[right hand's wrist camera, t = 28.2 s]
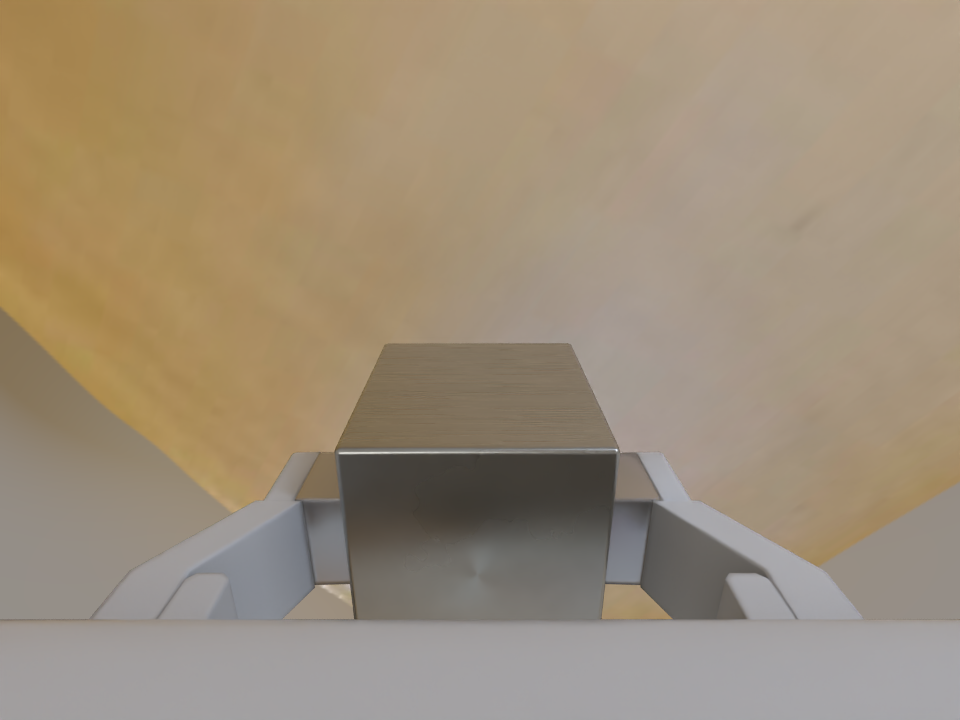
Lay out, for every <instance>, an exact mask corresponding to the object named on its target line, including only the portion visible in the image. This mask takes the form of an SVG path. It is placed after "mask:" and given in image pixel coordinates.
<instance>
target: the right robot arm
mask: <svg viewBox="0 0 960 720" xmlns="http://www.w3.org/2000/svg"><path fill="white" fill-rule="evenodd" d="M329 584H350V578H349V570H348V562H347V553H346V545H345V536H344V528H343V520H342V511H341V503H340V495H339V486H338V478H337V469H336V461H335V453H334V452H322V453H321V452H296V453H293V454H292V455H291V457H290V458H289V460H288V462H287V463H286V465H285V467H284V468H283V470H282V471H281V473H280V475H279V476H278V478H277V479H276V481H275V483H274V484H273V486H272V488H271V489H270V491H269V492H268V494H267V496H266V497H265V499H264V500H263V501H254V502H252V503H250V504H249V505H247V506H245V507H243V508H241V509H240V510H238V511H236V512H234V513H232V514H231V515H229V516H227V517H225V518H223V519H222V520H220V521H218V522H216V523H215V524H213V525H211V526H209V527H207V528H205V529H204V530H202V531H200V532H198V533H197V534H195V535H193V536H191V537H189V538H188V539H186V540H184V541H182V542H180V543H178V544H177V545H175V546H173V547H171V548H169V549H168V550H166V551H164V552H162V553H160V554H159V555H157V556H155V557H153V558H151V559H150V560H148V561H146V562H144V563H143V564H141V565H139V566H137V567H135V568H133V569H132V570H130V571H129V572H128V573H127V574H126V575H125V577H124V578H123V579H122V580H121V581H120V583H119V584H118V585H117V586H116V587H115V589H114V590H113V591H112V592H111V593H110V595H109V596H108V597H107V598H106V599H105V601H104V602H103V603H102V604H101V605H100V607H99V608H98V609H97V610H96V611H95V613H94V614H93V615H92V616H91V617H90V619H88V620H86V619H85V620H84V619H83V620H82V619H81V620H0V720H960V619H864V618H863V617H862V616H861V614H860V613H859V612H858V611H857V609H856V608H855V607H854V606H853V605H852V603H851V602H850V601H849V600H848V598H847V597H846V596H845V595H844V593H843V592H842V591H841V590H840V589H839V587H838V586H837V585H836V584H835V582H834V581H833V580H832V579H831V578H830V576H829V575H828V574H827V573H826V572H825V571H824V570H822V569H820V568H818V567H817V566H815V565H813V564H811V563H810V562H808V561H806V560H804V559H802V558H801V557H799V556H797V555H795V554H794V553H792V552H790V551H788V550H786V549H785V548H783V547H781V546H779V545H778V544H776V543H774V542H772V541H770V540H769V539H767V538H765V537H763V536H762V535H760V534H758V533H756V532H754V531H753V530H751V529H749V528H747V527H746V526H744V525H742V524H740V523H738V522H737V521H735V520H733V519H731V518H730V517H728V516H726V515H724V514H722V513H721V512H719V511H717V510H715V509H714V508H712V507H710V506H708V505H706V504H705V503H703V502H701V501H692V500H691V499H690V497H689V495H688V494H687V492H686V490H685V489H684V487H683V486H682V484H681V482H680V481H679V479H678V477H677V476H676V474H675V472H674V471H673V469H672V468H671V466H670V464H669V463H668V461H667V459H666V458H665V456H664V455H663V453H661V452H635V453H620V458H619V467H618V475H617V484H616V493H615V502H614V511H613V519H612V528H611V537H610V546H609V555H608V564H607V572H606V581H605V584H626V585H641V588H642V589H643V590H644V591H645V592H646V593H647V594H648V595H649V596H650V597H651V598H652V599H653V600H654V601H655V602H656V603H657V604H658V605H659V606H660V607H661V608H662V609H663V610H664V611H665V612H666V613H667V614H668V615H670V616H671V617H672V618H673V619H283V618H284V617H285V616H286V615H287V614H288V613H289V612H290V611H291V610H292V609H293V608H294V607H295V606H296V605H297V604H298V603H299V602H300V601H301V600H302V599H303V598H305V597H306V596H307V595H308V594H309V593H310V592H311V591H312V590H313V589H314V588H315V585H329Z"/></svg>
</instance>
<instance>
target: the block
mask: <svg viewBox="0 0 960 720" xmlns="http://www.w3.org/2000/svg"><path fill="white" fill-rule="evenodd" d="M334 453H335V461H336V469H337V478H338V486H339V495H340V503H341V511H342V520H343V528H344V536H345V545H346V553H347V562H348V570H349V578H350V587H351V595H352V603H353V612H354V619H601V616H602V608H603V599H604V590H605V581H606V572H607V564H608V555H609V546H610V537H611V528H612V519H613V511H614V502H615V493H616V484H617V475H618V467H619V458H620V449H619V447H618V445H617V443H616V440H615V438H614V436H613V434H612V432H611V430H610V428H609V425H608V423H607V421H606V419H605V417H604V415H603V413H602V410H601V408H600V406H599V404H598V402H597V400H596V398H595V395H594V393H593V391H592V389H591V387H590V385H589V383H588V380H587V378H586V376H585V374H584V372H583V370H582V368H581V365H580V363H579V361H578V359H577V357H576V355H575V353H574V350H573V348H572V346H571V345H570V344H568V343H555V344H386V345H385V346H384V348H383V350H382V352H381V354H380V356H379V358H378V360H377V363H376V365H375V367H374V369H373V371H372V373H371V375H370V377H369V379H368V381H367V384H366V386H365V388H364V390H363V392H362V394H361V396H360V398H359V400H358V402H357V404H356V407H355V409H354V411H353V413H352V415H351V417H350V419H349V421H348V423H347V425H346V428H345V430H344V432H343V434H342V436H341V438H340V440H339V442H338V444H337V446H336V449H335V452H334Z"/></svg>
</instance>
